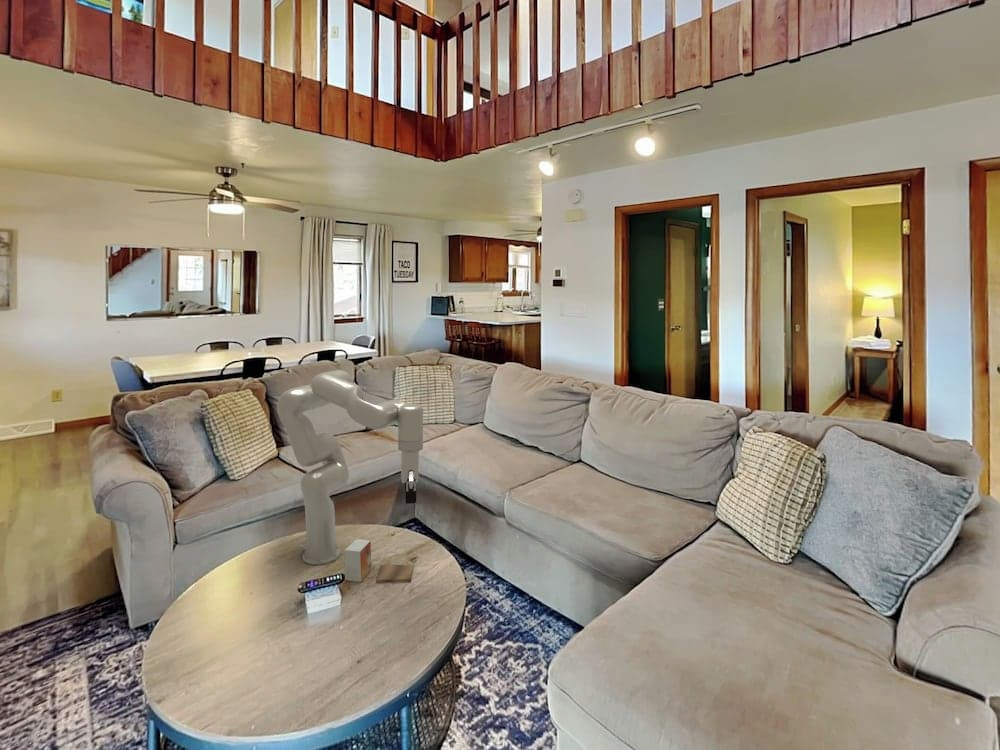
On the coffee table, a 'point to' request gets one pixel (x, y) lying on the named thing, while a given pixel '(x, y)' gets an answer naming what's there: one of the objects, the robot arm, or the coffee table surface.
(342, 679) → the coffee table surface
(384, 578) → the walnut coaster board
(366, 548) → the small box
